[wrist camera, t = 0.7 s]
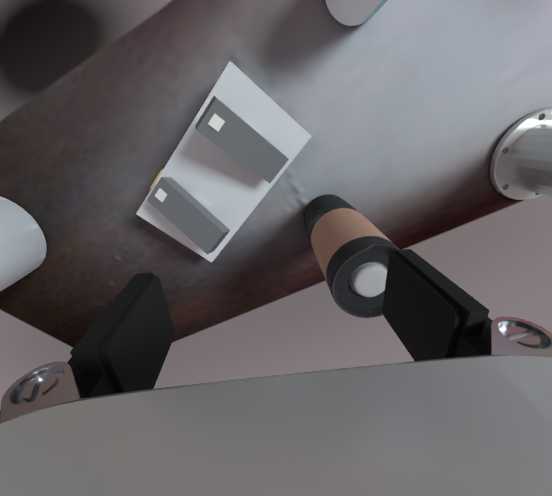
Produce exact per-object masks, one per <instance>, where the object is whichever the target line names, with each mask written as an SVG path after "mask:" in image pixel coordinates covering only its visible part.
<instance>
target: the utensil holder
mask: <svg viewBox="0 0 552 496" xmlns="http://www.w3.org/2000/svg"><path fill="white" fill-rule="evenodd" d="M46 250H47V246H46V241H45V237H44V234H43V232H42V230H41V228H40V227H39V225H38V224H37V222H36V221H35V220H34V219H33V217H32V216H31V215H30V214H29V213H27V212H26V211H25V210H24V209H23V208H21V207H20V206H18V205H17V204H15V203H14V202H12V201H10V200H8V199H6V198H4V197H1V196H0V291H2V290H4V289H5V288H7V287H9V286H10V285H12V284H13V283H15V282H16V281H18V280H20V279H21V278H23V277H24V276H26V275H27V274H29V273H30V272H32V271H33V270H35V269H36V268H38V267H39V266H40V265H41V264H42V262H43V261H44V259H45V256H46Z"/></svg>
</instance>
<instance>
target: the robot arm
mask: <svg viewBox="0 0 552 496" xmlns="http://www.w3.org/2000/svg"><path fill="white" fill-rule="evenodd" d="M490 178H491V181H492V184H493V186H494V188H495V189H496V190H497V191H498V192H499V193H500V194H501V195H503V196H506V197H508V198H512V199H516V200H527V199H533V198H536V197H539V196H541V195H546V196H551V197H552V108H546V109H541V110H538V111H535V112H533V113H531V114H529V115H527V116H525V117H523V118H522V119H521V120H519V121H518V122H517V123H515V124H514V125H513V126H512V127H511V128H510V129H509V130H508V131H507V132H506V134H505V135H504V136H503V137H502V138H501V140H500V142H499V143H498V145H497V147H496V149H495V151H494V154H493V156H492V160H491V164H490ZM382 311H383V315H384V317H385V318H386V320H387V321H388V323H389V324H390V326H391V327H392V329H393V330H394V331H395V333H396V334H397V336H398V337H399V339H400V340H401V342H402V343H403V344H404V346H405V347H406V349H407V350H408V352H409V353H410V355H411V356H412V358H413V359H414V361H413V362H403V363H393V364H383V365H373V366H363V367H353V368H343V369H334V370H324V371H314V372H305V373H295V374H286V375H276V376H266V377H257V378H248V379H239V380H230V381H221V382H212V383H203V384H194V385H186V386H176V387H167V388H159V389H153V388H154V386H155V383H156V380H157V378H158V376H159V373H160V371H161V368H162V366H163V363H164V361H165V358H166V356H167V353H168V351H169V348H170V346H171V343H172V341H173V338H174V326H173V323H172V319H171V316H170V313H169V309H168V306H167V302H166V299H165V296H164V292H163V289H162V285H161V282H160V279H159V277H158V276H155V275H154V274H153V273H152V272H151V273H140V274H136V275H134V277H133V278H132V279H131V280H130V281H129V283H128V284H127V285H126V286H125V287H124V289H123V290H122V291H121V292H120V293H119V294H118V296H117V297H116V298H115V299H114V300H113V302H112V303H111V304H110V305H109V306H108V308H107V309H106V310H105V311H104V312H103V314H102V315H101V316H100V317H99V318H98V319H97V321H96V322H95V323H94V324H93V325H92V327H91V328H90V329H89V330H88V331H87V333H86V334H85V335H84V336H83V337H82V339H81V340H80V341H79V342H78V343H77V345H76V346H75V347H74V348H73V349H72V350H71V352H70V353H71V355H72V357H71V359H70V360H69V361H68V362H67V363H66V362H52V363H48V364H45V365H43V366H40V367H38V368H35V369H34V370H32V371H30V372H28V373H27V374H25V375H24V376H22V377H21V378H19V379H18V380H17V381H16V382H14V383H13V384H12V385H11V386H10V387H9V388H8V390H7V391H6V392H5V394H4V395H3V397H2V400H1V410H0V496H552V334H551V333H550V332H549V331H547V330H546V329H544V328H543V327H541V326H538V325H536V324H534V323H532V322H529V321H526V320H523V319H519V318H514V317H499V318H496V319H494V320H493V321H492V320H491V319H490V318H488V317H487V316H488V313H489V310H488V309H487V308H485V307H484V306H483V305H482V304H480V303H479V302H478V301H477V300H475V299H474V298H473V297H471V296H470V295H469V294H467V293H466V292H465V291H464V290H462V289H461V288H460V287H458V286H457V285H456V284H455V283H453V282H452V281H451V280H449V279H448V278H447V277H446V276H444V275H443V274H442V273H440V272H439V271H438V270H436V269H435V268H434V267H433V266H431V265H430V264H429V263H428V262H426V261H425V260H424V259H422V258H421V257H420V256H418V255H417V254H416V253H415V252H413V251H412V250H410V249H407V250H396V251H394V252H393V254H391V255H390V256H389V260H388V268H387V276H386V283H385V291H384V299H383V307H382Z"/></svg>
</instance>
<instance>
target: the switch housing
mask: <svg viewBox="0 0 552 496" xmlns="http://www.w3.org/2000/svg"><path fill="white" fill-rule="evenodd" d="M213 96H216V97H217V98H218V99H219V100H220V101H221V102H223V103H224V104H225V105H226V106H227V107H229V108H230V109H231V110H232V111H233V112H234V113H236V114H237V115H238V116H239V117H240V118H242V119H243V120H244V121H245V122H246V123H247V124H249V125H250V126H251V127H252V128H253V129H255V130H256V131H257V132H258V133H259V134H260V135H262V136H263V137H264V138H265V139H266V140H267V141H269V142H270V143H271V144H272V145H273V146H275V147H276V148H277V149H278V150H279V151H280V152H282V153H283V154H284V155H285V156H286V157H287V158H288V159H289V160H288V161H287V163H286V164H285V165H284V166H283V168H282V169H281V170H280V171H279V173H278V174H277V175H276V177H275V178H274V179H273V180H272V182H271V183H268V182H267V181H266V180H264V179H263V178H261V177H260V176H259V175H257V174H256V173H255V172H253V171H252V170H250V169H249V168H248V167H246V166H245V165H244V164H242V163H241V162H239V161H238V160H237V159H235V158H234V157H233V156H231V155H230V154H228V153H227V152H226V151H224V150H223V149H222V148H220V147H219V146H217V145H216V144H215V143H213V142H212V141H211V140H209V139H208V138H206V137H205V136H204V135H202V134H201V133H199V132H198V131H197V130H196V127H195V125H196V124H197V122H198V120H199V119H200V117H201V115H202V114H203V112H204V111H205V109H206V107H207V106H208V104H209V103H210V101H211V99H212V98H213ZM310 138H311V135H310V134H308V133H307V132H306V131H305V130H304V129H303V128H302V127H301V126H300V125H299V124H298V123H297V122H296V121H294V120H293V119H292V118H291V117H290V116H289V115H288V114H287V113H286V112H285V111H284V110H283V109H281V108H280V107H279V106H278V105H277V104H276V103H275V102H274V101H273V100H272V99H271V98H270V97H269V96H267V95H266V94H265V93H264V92H263V91H262V90H261V89H260V88H259V87H258V86H257V85H256V84H254V83H253V82H252V81H251V80H250V79H249V78H248V77H247V76H246V75H245V74H244V73H243V72H242V71H240V70H239V69H238V68H237V67H236V66H235V65H234V64H233V63H232V62H231V61H230V62H229V63H228V65H227V67H226V68H225V70H224V71H223V73H222V75H221V76H220V78H219V80H218V81H217V83H216V84H215V86H214V88H213V89H212V91H211V93H210V94H209V96H208V97H207V99H206V101H205V102H204V104H203V106H202V107H201V109H200V111H199V112H198V114H197V115H196V117H195V119H194V120H193V122H192V124H191V125H190V127H189V128H188V130H187V132H186V133H185V135H184V137H183V138H182V140H181V141H180V143H179V145H178V146H177V148H176V150H175V151H174V153H173V155H172V156H171V158H170V159H169V161H168V163H167V164H166V166H165V168H164V169H162V170H161V171H160V172H159V174H158V176H157V177H156V179H155V181H154V182H153V184H152V186H151V187H150V189H151V190H150V192H149V194H148V195H147V197H146V198H145V200H144V202H143V203H142V205H141V207H140V208H139V210H138V212H137V213H136V214H137V215H138V216H140V217H141V218H143V219H145V220H146V221H148V222H149V223H151V224H152V225H154V226H155V227H157V228H159V229H160V230H162V231H163V232H165V233H166V234H168V235H169V236H171V237H173V238H174V239H176V240H177V241H179V242H180V243H182V244H183V245H185V246H187V247H188V248H190V249H191V250H193V251H194V252H196V253H197V254H199V255H201V256H202V257H204V258H205V259H207V260H208V261H210V262H213V260H214V259H215V258H216V257H217V255H218V254H219V253H220V252H221V250H222V249H223V248H224V246H225V245H226V244H227V243H228V241H229V240H230V239H231V238H232V236H233V235H234V234H235V233H236V231H237V230H238V229H239V227H240V226H241V225H242V224H243V222H244V221H245V220H246V219H247V217H248V216H249V215H250V214H251V212H252V211H253V210H254V209H255V207H256V206H257V205H258V203H259V202H260V201H261V200H262V198H263V197H264V196H265V195H266V193H267V192H268V191H269V190H270V188H271V187H272V186H273V185H274V183H275V182H276V181H277V179H278V178H279V177H280V176H281V174H282V173H283V172H284V171H285V169H286V168H287V167H288V166H289V164H290V163H291V162H292V160H293V159H294V158H295V157H296V155H297V154H298V153H299V152H300V150H301V149H302V148H303V147H304V145H305V144H306V143H307V142H308V140H309V139H310ZM161 177H170V178H173V179H174V180H175V181H176V182H177V183H178V184H179V185H180V186H182V187H183V188H184V189H185V190H186V191H187V192H188V193H189V194H190V195H192V196H193V197H194V198H195V199H196V200H197V201H198V202H199V203H201V204H202V205H203V206H204V207H205V208H206V209H207V210H208V211H209V212H211V213H212V214H213V215H214V216H215V217H216V218H217V219H218V220H219V221H221V222H222V223H223V224H224V225H225V226H226V227H227V228H228V229H230V232H229V233H228V234H227V235H226V237H225V238H224V239H223V240H222V242H221V243H220V244H219V246H218V247H217V248H216V249H215V251H213V252H211V253H209V254H206V253H205V252H204V251H203V250H202V249H200V248H199V247H198V246H197V245H196V244H195V243H194V242H193V241H192V240H190V239H189V238H188V237H187V236H186V235H185V234H184V233H183V232H182V231H181V230H179V229H178V228H177V227H176V226H175V225H174V224H173V223H172V222H171V221H169V220H168V219H167V218H166V217H165V216H164V215H163V214H162V213H161V212H159V211H158V210H157V209H156V208H155V207H154V206H153V205H152V204H151V203H149V202H148V201H147V199H148V198H149V196H150V194H151V193H152V191H153V190H154V188H155V186H156V185H157V183H158V182H159V180H160V178H161Z"/></svg>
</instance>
